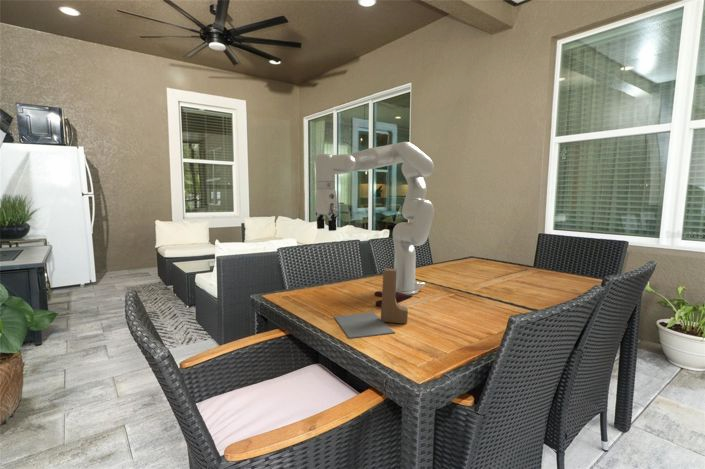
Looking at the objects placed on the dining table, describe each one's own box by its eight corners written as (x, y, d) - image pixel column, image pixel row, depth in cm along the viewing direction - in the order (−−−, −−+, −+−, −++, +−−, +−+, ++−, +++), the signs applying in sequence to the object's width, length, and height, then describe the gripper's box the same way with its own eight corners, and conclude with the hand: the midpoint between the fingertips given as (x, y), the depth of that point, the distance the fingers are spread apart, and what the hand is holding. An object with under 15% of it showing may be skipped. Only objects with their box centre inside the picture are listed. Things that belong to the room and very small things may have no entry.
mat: (373, 313, 132) (373, 312, 132) (394, 333, 113) (394, 332, 113) (334, 317, 128) (334, 316, 128) (349, 338, 109) (349, 337, 109)
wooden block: (406, 319, 125) (409, 269, 124) (407, 324, 121) (410, 272, 119) (381, 317, 126) (383, 267, 125) (380, 321, 122) (383, 270, 120)
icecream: (410, 287, 145) (374, 290, 146) (412, 287, 138) (373, 290, 139) (412, 304, 144) (375, 307, 145) (414, 305, 137) (375, 308, 138)
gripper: (345, 185, 135) (345, 230, 136) (323, 186, 149) (324, 227, 151) (327, 185, 131) (328, 232, 132) (307, 186, 145) (308, 228, 147)
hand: (326, 229), depth 142 cm, fingers open, 9 cm apart
